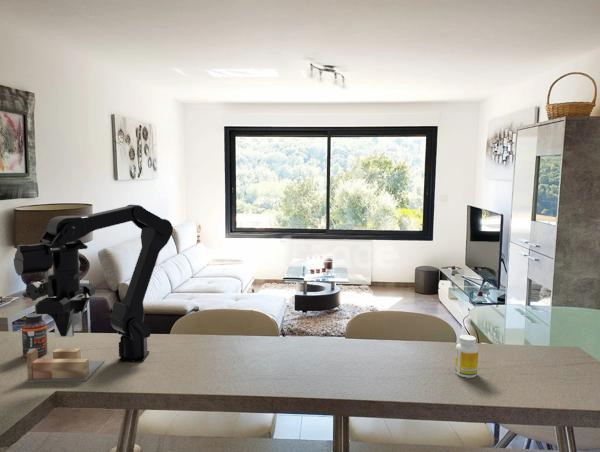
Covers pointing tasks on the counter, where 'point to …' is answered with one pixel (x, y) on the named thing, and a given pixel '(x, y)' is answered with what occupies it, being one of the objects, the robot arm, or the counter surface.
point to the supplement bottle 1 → (34, 334)
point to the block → (58, 364)
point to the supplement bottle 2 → (466, 357)
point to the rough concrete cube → (72, 325)
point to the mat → (92, 368)
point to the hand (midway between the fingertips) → (69, 332)
